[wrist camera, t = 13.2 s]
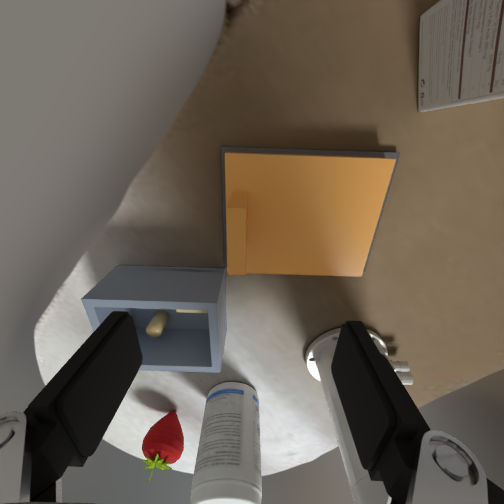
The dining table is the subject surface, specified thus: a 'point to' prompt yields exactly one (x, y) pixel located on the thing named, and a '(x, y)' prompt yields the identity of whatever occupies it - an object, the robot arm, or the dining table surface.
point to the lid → (302, 212)
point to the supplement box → (461, 53)
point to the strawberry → (163, 442)
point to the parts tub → (167, 313)
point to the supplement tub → (229, 448)
